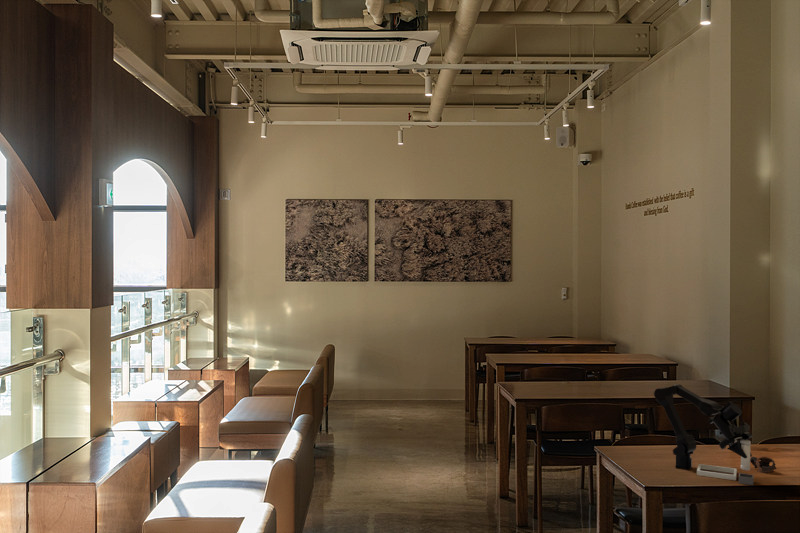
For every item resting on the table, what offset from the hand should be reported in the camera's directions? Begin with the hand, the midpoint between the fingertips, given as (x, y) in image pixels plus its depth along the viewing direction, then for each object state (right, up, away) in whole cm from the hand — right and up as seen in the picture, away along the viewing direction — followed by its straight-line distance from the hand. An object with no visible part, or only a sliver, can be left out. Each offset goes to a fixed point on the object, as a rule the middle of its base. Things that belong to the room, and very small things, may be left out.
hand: (748, 457), depth 297 cm
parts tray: (-8, -12, +13) cm, 19 cm away
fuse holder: (-1, -12, +1) cm, 12 cm away
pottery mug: (+17, -13, +19) cm, 29 cm away
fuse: (-1, -6, +1) cm, 6 cm away
